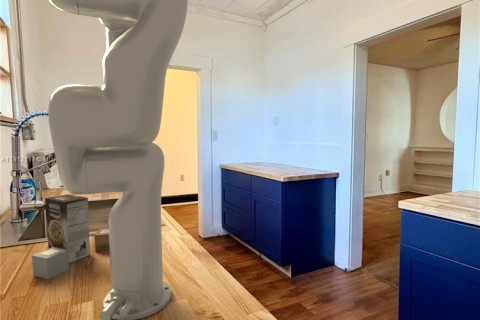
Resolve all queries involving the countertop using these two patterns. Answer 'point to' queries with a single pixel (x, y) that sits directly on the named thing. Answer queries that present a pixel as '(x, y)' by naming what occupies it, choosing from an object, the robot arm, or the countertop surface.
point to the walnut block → (102, 240)
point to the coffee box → (68, 225)
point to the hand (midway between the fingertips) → (125, 125)
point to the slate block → (50, 262)
